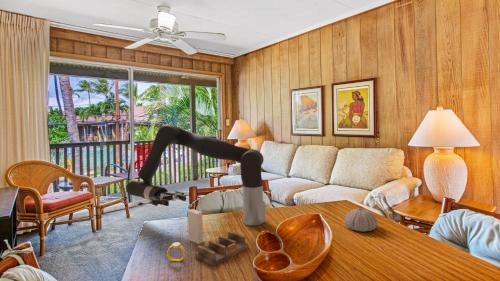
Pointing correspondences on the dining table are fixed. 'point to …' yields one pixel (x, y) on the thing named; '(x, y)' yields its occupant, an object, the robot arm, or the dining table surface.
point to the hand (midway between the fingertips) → (177, 201)
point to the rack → (222, 249)
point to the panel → (195, 226)
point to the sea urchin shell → (360, 220)
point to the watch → (176, 245)
